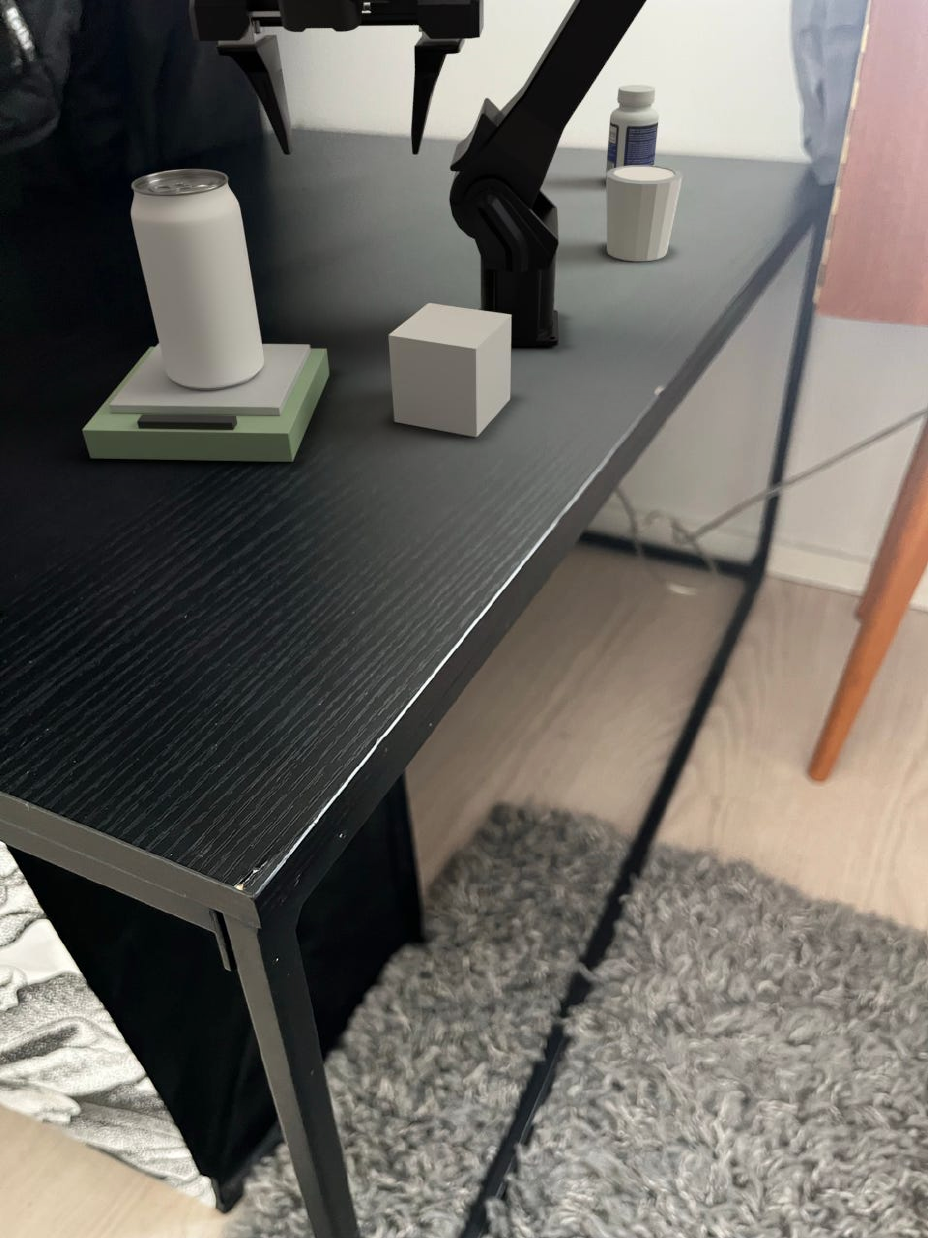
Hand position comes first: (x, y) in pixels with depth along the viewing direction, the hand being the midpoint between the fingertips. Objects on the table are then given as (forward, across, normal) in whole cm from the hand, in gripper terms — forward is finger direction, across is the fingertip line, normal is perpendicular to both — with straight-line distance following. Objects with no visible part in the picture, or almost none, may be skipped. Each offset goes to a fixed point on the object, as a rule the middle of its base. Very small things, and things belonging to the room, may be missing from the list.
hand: (351, 153), depth 67 cm
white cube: (+13, +8, -14) cm, 21 cm away
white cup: (+13, +23, +20) cm, 33 cm away
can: (+11, -8, -14) cm, 19 cm away
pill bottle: (+13, +24, +45) cm, 53 cm away
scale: (+13, -8, -15) cm, 21 cm away
